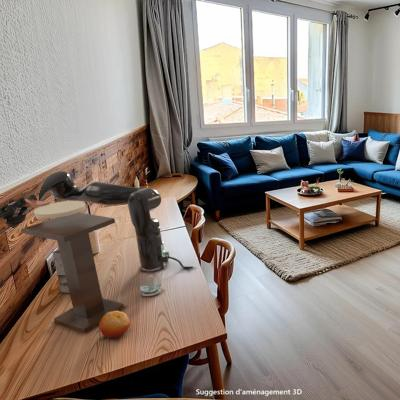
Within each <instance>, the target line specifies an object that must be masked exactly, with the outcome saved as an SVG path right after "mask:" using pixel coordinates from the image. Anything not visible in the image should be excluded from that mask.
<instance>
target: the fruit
mask: <svg viewBox="0 0 400 400" xmlns="http://www.w3.org/2000/svg"><path fill="white" fill-rule="evenodd" d="M130 324H131V321H130V318H129V316H128V314H127V313H125V312H124V311H121V310H120V311H112V312H108V313H106V314H105V315H104V316H103V317H102V319H101V321H100V324H98V326H99V331H100V333H101V334H102V337H101V340H103V339H104V338H107V339H119V338H121V337H122V336H124V334H125V333H126V332H127V331H128V329H129V327H130Z"/></svg>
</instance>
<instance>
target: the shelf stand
mask: <svg viewBox="0 0 400 400" xmlns="http://www.w3.org/2000/svg"><path fill="white" fill-rule="evenodd" d="M113 224H116V218H115V217H109V216H104V215H103V216H102V215H97V214H89V213H84V212H79V213H76V214H72V215H68V216H64V217H57V218H50V219H48V220H45V221H42V222H38V223H36V224H35V223H34V224H33V225H29V226H26V227H23V228H22V232H23V234H25V235H29V236H35V237H38V238H42V239H43V238H44V239H47V240H53V241H56V243H57V246H58V249H59V251H60V255H61V259H62V263H63V268H64V272H65V276H66V280H67V284H68V289H69V293H68V294H69V298H70V301H71V305H72V308H69V309H68V310H66V311H65V312H63V313H60V314H59V315H58V316H55V317H54V318H53V322H54V323H55V324H58V325H61V326H64V327H67V328H69V329H72V330H75V331H78V332H81V333H84V334H87V333H88V332H89V331H91V330H92V329H94V328H95V327H97V326H99V324H100V321H101V319H102V317H103V316H104V315H105V314H106V313H108V312H112V311H120V312H121V310H123V309H124V308H125V306H124V304H123V303H122V302H118V301H115V300H111V299H108V298H104V297H103V296H102V291H101V286H100V281H99V277H98V272H97V268H96V262H95V256H94V252H93V248H92V243H91V237H90V233H92V232H95V231H97V230H100V229H104V228H105V227H108V226H110V225H113Z"/></svg>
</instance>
